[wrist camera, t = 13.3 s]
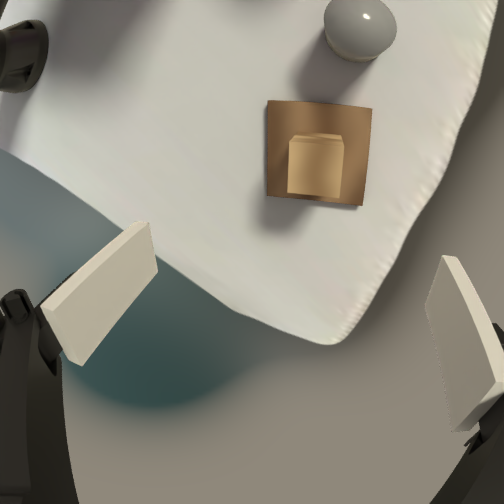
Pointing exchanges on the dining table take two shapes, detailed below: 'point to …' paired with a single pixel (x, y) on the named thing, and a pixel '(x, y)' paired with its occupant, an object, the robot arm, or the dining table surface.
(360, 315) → the dining table surface
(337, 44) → the grey dome cap
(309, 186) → the oak block
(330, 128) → the walnut board
